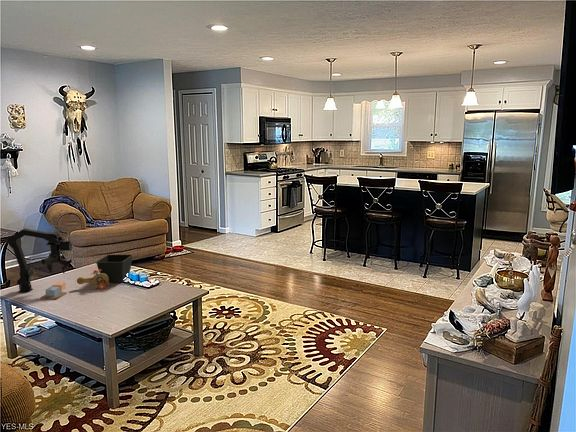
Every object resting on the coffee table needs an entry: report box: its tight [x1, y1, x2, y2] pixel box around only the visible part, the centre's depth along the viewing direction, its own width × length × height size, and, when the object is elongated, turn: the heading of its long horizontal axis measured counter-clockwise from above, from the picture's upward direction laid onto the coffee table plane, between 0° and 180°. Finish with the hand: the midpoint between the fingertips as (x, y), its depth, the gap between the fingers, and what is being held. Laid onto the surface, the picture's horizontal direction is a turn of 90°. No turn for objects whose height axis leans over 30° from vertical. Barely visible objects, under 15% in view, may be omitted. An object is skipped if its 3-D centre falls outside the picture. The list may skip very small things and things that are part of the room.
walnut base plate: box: [39, 291, 67, 301], centre depth 282 cm, size 11×11×1 cm
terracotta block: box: [51, 281, 67, 292], centre depth 294 cm, size 6×6×4 cm
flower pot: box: [95, 254, 133, 284], centre depth 312 cm, size 19×19×17 cm
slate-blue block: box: [45, 286, 62, 297], centre depth 281 cm, size 6×6×4 cm
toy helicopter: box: [76, 269, 110, 291], centre depth 296 cm, size 8×21×14 cm, turn 96°
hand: (57, 273), depth 292 cm, fingers open, 9 cm apart
